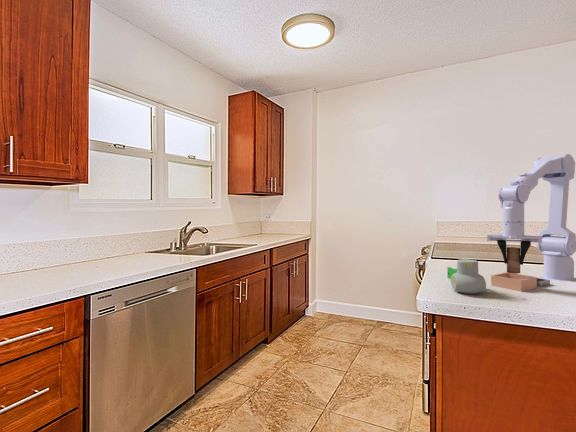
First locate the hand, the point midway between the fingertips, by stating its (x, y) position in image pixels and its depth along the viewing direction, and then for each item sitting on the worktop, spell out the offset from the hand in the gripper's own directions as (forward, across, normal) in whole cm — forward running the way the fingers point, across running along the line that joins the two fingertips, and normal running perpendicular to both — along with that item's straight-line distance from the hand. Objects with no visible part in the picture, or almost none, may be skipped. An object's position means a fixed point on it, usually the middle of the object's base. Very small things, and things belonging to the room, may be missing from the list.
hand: (513, 263), depth 105 cm
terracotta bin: (+8, 0, 0) cm, 8 cm away
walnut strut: (+3, 0, 0) cm, 3 cm away
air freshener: (+8, -12, -11) cm, 19 cm away
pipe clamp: (+8, -16, +1) cm, 18 cm away
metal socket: (+8, +6, +7) cm, 12 cm away
